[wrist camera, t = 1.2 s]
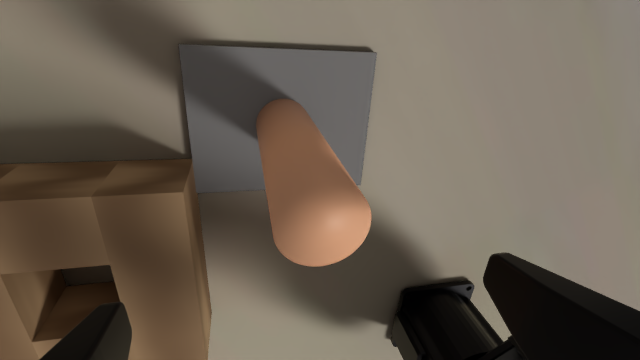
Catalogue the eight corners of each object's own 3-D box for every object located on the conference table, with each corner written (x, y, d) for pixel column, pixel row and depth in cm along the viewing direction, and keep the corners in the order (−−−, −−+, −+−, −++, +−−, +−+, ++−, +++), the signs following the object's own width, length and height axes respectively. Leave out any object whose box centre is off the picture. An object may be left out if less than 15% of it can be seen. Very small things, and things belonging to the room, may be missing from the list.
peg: (311, 98, 18) (377, 179, 10) (308, 150, 20) (365, 261, 11) (255, 98, 18) (272, 184, 9) (256, 151, 19) (272, 270, 10)
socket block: (193, 158, 19) (183, 192, 15) (211, 312, 24) (207, 363, 21) (-69, 166, 16) (-153, 208, 13) (16, 337, 21) (-27, 400, 18)
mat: (374, 51, 18) (376, 52, 18) (358, 182, 22) (360, 185, 21) (179, 43, 16) (178, 44, 16) (197, 190, 20) (196, 193, 19)
